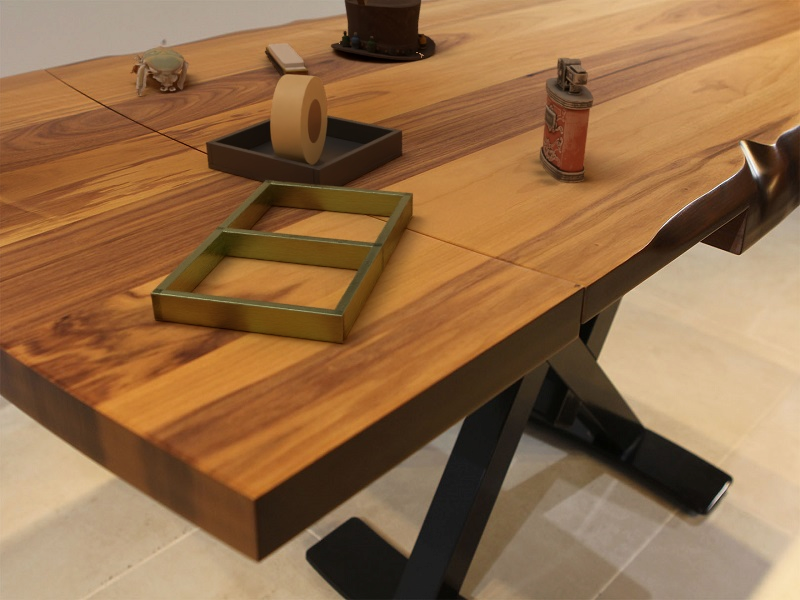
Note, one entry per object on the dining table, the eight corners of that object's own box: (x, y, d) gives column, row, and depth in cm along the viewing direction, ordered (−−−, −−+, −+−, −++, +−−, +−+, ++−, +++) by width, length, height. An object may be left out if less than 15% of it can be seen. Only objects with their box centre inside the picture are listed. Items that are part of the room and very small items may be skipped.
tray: (208, 167, 80) (205, 142, 79) (296, 131, 90) (295, 108, 89) (320, 197, 74) (319, 169, 73) (402, 154, 84) (402, 130, 83)
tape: (280, 180, 80) (263, 112, 73) (304, 124, 84) (289, 56, 78) (310, 183, 79) (295, 114, 73) (332, 126, 84) (319, 57, 78)
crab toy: (96, 82, 103) (100, 40, 101) (155, 78, 113) (159, 40, 111) (155, 102, 101) (160, 59, 99) (210, 96, 110) (215, 57, 108)
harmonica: (265, 55, 120) (264, 41, 119) (286, 54, 121) (285, 40, 120) (284, 81, 108) (283, 65, 107) (308, 79, 109) (308, 63, 108)
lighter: (533, 153, 84) (541, 50, 80) (566, 152, 85) (577, 49, 80) (555, 183, 77) (565, 72, 73) (591, 181, 78) (604, 71, 73)
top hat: (379, 35, 133) (379, -37, 128) (456, 50, 124) (459, -27, 119) (309, 51, 123) (305, -26, 118) (387, 68, 114) (386, -14, 109)
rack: (154, 320, 55) (150, 292, 55) (267, 201, 73) (265, 179, 72) (342, 343, 53) (342, 315, 52) (412, 215, 71) (413, 192, 70)
